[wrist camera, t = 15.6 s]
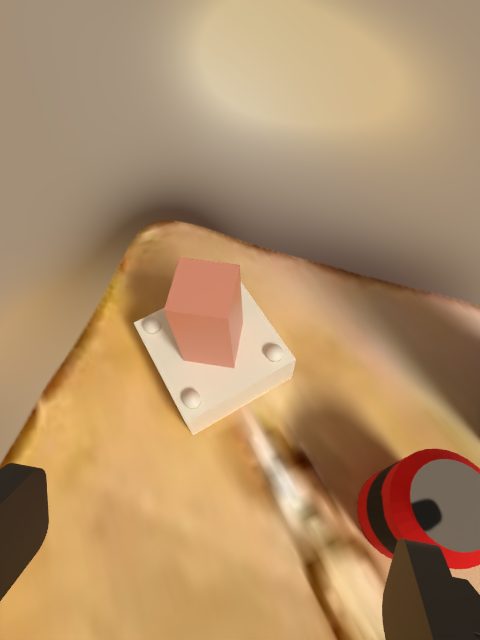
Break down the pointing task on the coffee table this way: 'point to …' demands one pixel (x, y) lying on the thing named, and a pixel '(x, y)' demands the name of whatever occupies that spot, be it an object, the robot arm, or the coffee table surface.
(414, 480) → the soda can
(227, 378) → the base brick
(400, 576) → the robot arm
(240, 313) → the tall block
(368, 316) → the coffee table surface
